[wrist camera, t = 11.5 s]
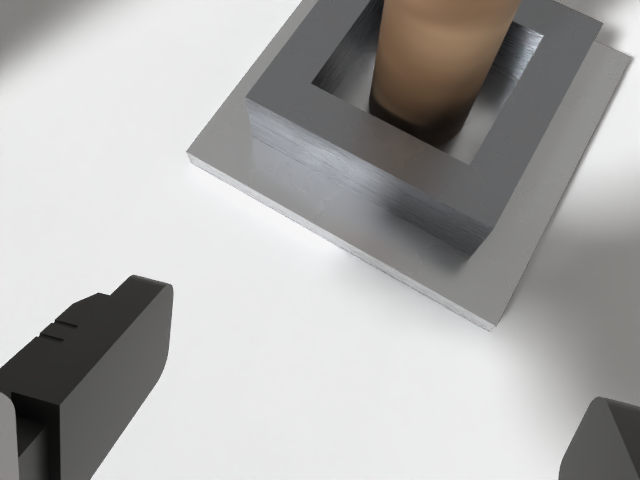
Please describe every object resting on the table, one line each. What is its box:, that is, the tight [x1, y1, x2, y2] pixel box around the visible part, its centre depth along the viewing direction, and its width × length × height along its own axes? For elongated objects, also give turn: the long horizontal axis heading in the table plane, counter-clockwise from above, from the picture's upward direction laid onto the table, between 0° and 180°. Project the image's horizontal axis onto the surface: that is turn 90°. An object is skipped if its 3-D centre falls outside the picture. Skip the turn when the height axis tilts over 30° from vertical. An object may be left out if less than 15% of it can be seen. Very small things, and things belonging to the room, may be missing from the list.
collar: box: [186, 0, 631, 331], centre depth 20 cm, size 12×12×3 cm
